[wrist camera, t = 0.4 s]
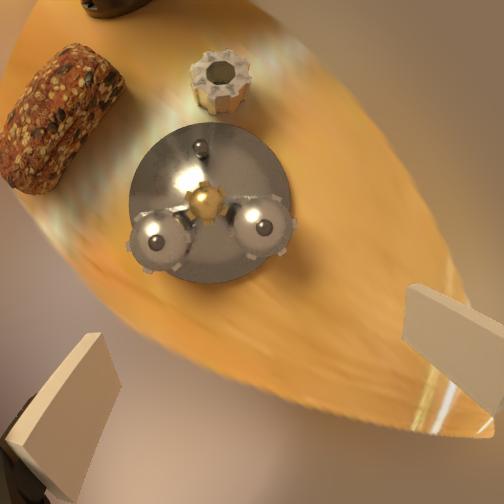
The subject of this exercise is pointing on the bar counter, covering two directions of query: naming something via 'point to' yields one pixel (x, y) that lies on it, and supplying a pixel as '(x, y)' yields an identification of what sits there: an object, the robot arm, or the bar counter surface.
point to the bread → (56, 117)
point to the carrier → (209, 204)
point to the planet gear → (220, 69)
